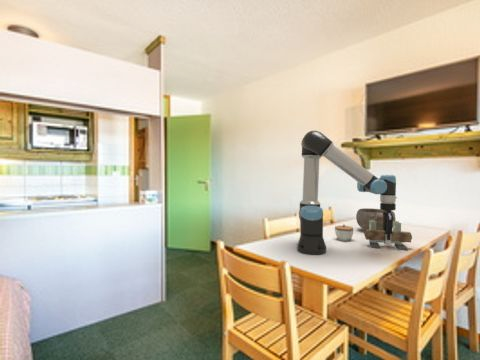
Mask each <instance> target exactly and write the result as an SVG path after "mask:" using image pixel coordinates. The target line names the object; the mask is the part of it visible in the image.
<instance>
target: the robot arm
mask: <svg viewBox="0 0 480 360" xmlns="http://www.w3.org/2000/svg"><path fill="white" fill-rule="evenodd" d="M300 144H301V157H302V158H303V181H302V183H303V184H302V186H303V187H302V200H300V201H299V209H298V210H299V211H298V217H299V221H300V229H299V230H300V232H299V233H300V234H299V235H300V236H299V239H298V242H297V246H296V249H297V251H298V252H300V253H301V254H306V255H313V256H314V255H316V256H317V255H323V254H324V255H325V253H327V245H326V242H325V239H324V237H323V236H324V211H323V208H322V207H321V202H320V201H319V200H318V199H319V198H318V197H319V181H320V180H319V179H320V159H322V157H324V158H325V159H326V160H327V161H329V162H330V163H332V164H333V165H335V166H336V167H337V168H338V169H340V170H342V172H343V173H345V174H347V175H348V176H349V177H350V178H352V179H353V180H355V181H356V188H357V191H358V192H361V193H371V194H373V195H379V202H380V203H379V209H381V210H384V213H383V230H385V231H386V233H385V241H384V242H383V244H384V246H386V247H387V246H389V247H391V246H392V243H391V234H392V231H393V228H392V224H393V216H392V214H391V211H396V210H397V208H396V207H397V206H396V205H397V204H396V199H398V197H397V196H396V194H397V193H396V192H397V191H396V190H397V178H396V175H394V174H381V175H380V177H379V178H378V177H377V176H375V175H374V174H373V173H372V172H370V171H369V170H368V169H366V168H365V167H364V166H362V165H361V164H360V163H358V162H357V161H356V160H355V159H354V158H351V157H350V156H349V155H347V154H346V153H345V152H344V151H342V150H341V149H339V148H338V147H337V146H335V145H334V142H333V141H332V140H331V139H330V138H328V137H327V136H326V135H324V133H322V132H321V131H318V130H310V131H308V132H307V133H306V134H305V135H304V136H303V138H302V140H301V143H300Z"/></svg>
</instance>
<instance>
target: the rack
mask: <svg viewBox="0 0 480 360" xmlns="http://www.w3.org/2000/svg"><path fill="white" fill-rule="evenodd" d="M369 230H376V222H375V220H369ZM392 231H402V223H401V222H400V221H399V220H397V221H396V220H395V221H393V228H392ZM369 241H375V242H378V243H384V241H381V240H368V242H369ZM395 243H403V242H396V241H391V244H395Z"/></svg>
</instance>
